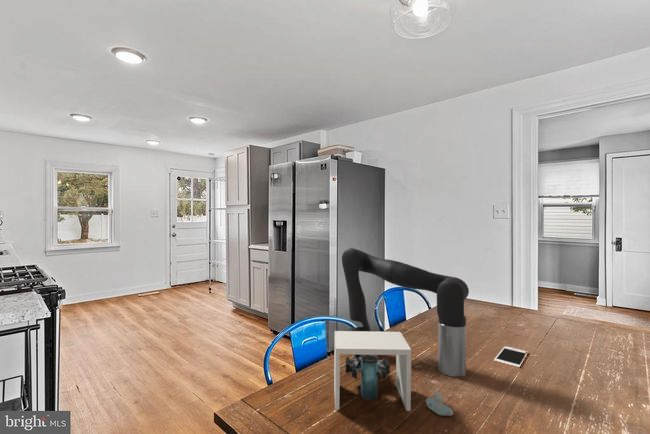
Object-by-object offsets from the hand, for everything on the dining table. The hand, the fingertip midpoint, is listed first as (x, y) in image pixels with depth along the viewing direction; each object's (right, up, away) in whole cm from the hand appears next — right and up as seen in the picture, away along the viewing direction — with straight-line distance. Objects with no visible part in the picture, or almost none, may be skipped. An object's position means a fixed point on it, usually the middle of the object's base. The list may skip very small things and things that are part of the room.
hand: (369, 376), depth 99 cm
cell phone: (+61, -8, +30) cm, 68 cm away
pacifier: (+19, -7, -6) cm, 22 cm away
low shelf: (0, -6, +1) cm, 7 cm away
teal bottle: (0, -7, +2) cm, 7 cm away
